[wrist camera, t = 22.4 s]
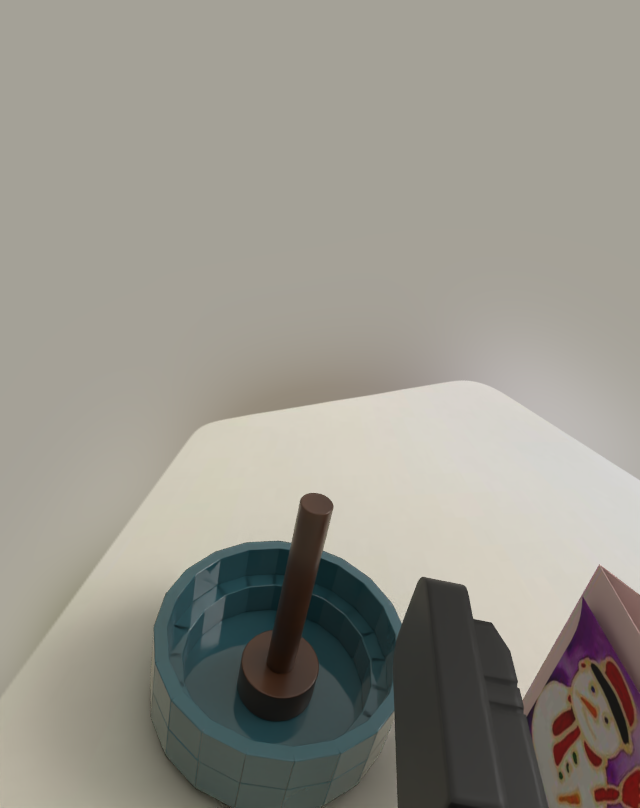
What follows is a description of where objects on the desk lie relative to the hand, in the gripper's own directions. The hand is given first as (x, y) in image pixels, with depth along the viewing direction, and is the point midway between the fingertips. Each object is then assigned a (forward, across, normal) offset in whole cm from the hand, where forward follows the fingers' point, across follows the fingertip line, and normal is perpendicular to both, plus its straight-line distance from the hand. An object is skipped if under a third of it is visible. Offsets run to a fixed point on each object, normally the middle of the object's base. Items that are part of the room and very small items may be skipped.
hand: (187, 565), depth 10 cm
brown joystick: (+17, -3, +27) cm, 32 cm away
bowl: (+17, -3, +28) cm, 33 cm away
